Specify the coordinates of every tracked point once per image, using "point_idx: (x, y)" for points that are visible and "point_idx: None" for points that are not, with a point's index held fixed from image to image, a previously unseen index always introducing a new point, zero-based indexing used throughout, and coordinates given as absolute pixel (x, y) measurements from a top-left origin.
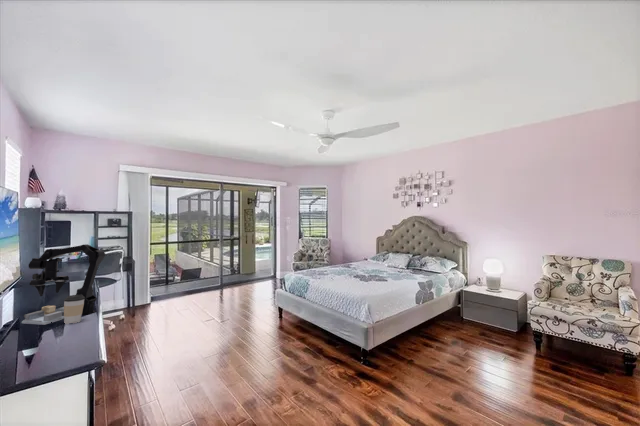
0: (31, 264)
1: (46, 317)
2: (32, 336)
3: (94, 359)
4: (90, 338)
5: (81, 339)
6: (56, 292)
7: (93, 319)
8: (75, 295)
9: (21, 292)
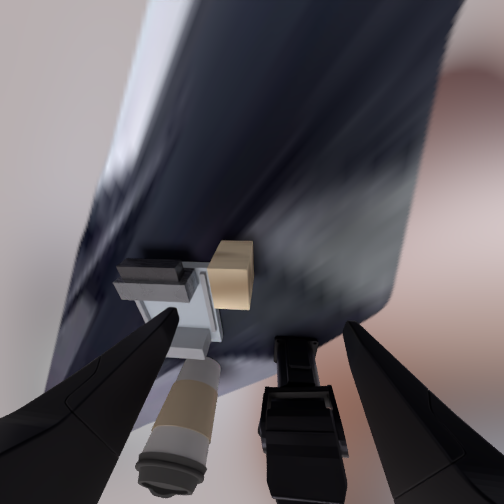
0: None
1: None
2: None
3: None
4: (150, 418)
5: (141, 413)
6: (346, 328)
7: (236, 386)
8: (179, 484)
9: None
